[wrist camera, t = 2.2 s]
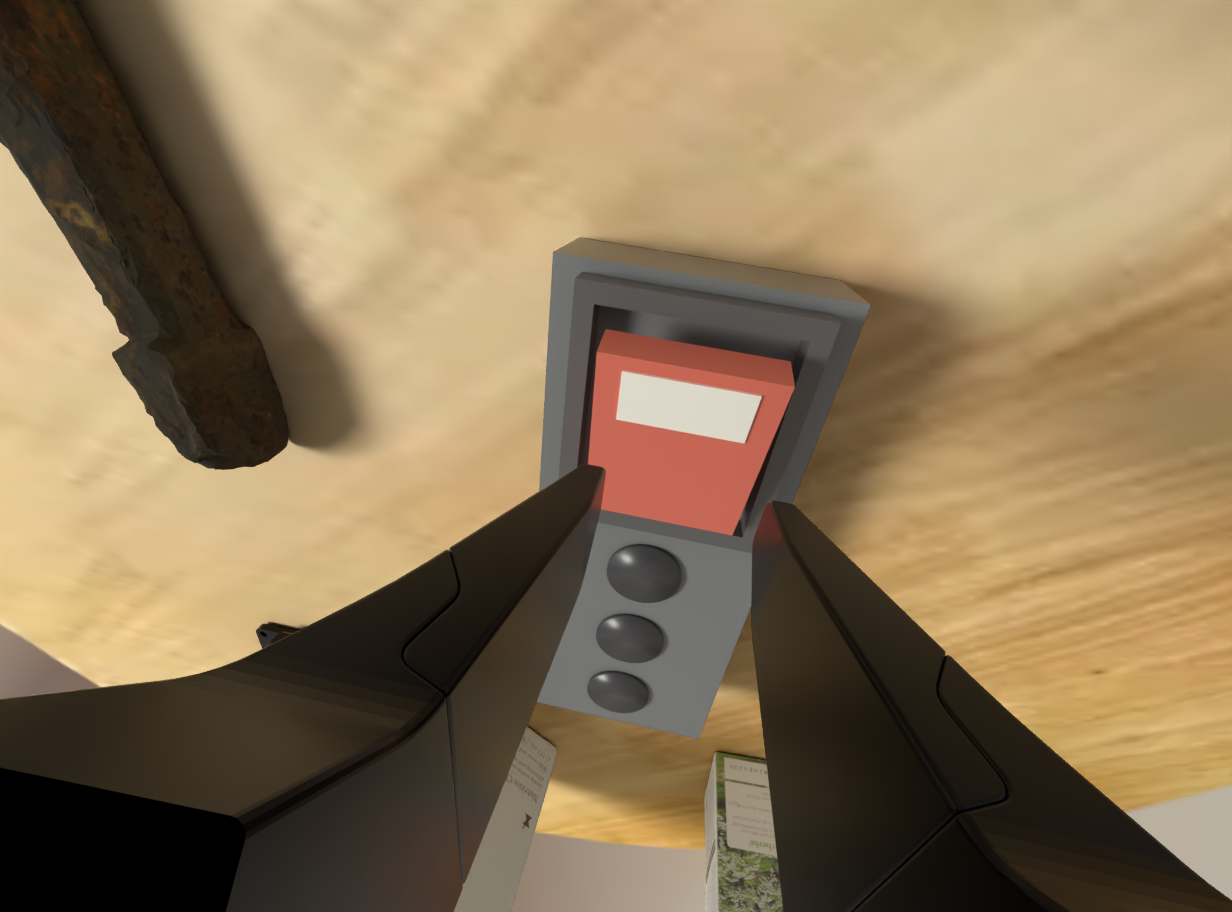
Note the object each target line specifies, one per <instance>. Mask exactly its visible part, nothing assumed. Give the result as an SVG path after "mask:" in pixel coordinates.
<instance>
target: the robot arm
mask: <svg viewBox="0 0 1232 912" xmlns="http://www.w3.org/2000/svg"><path fill="white" fill-rule="evenodd" d="M605 477H606V470H605V468H603V467H600V466H595V465H590V464H582V465H580V466H579V467H577V468H575V469H574V470H572V471H571V472H569V473H567V474H566V475H564V476H563V477H561V478H560V479H558V480H556V481H555V482H553V483H552V484H550V485H548V486H547V487H545V488H544V489H542V490H541V491H539V492H537V493H536V494H534V495H533V496H531V497H529V498H528V499H526V500H525V501H523V502H521V503H520V504H518V505H517V506H515V507H514V508H512V509H510V510H509V511H507V512H506V513H504V514H502V515H501V516H499V517H498V518H496V519H495V520H493V521H491V522H490V523H488V524H487V525H485V526H483V527H482V528H480V529H479V530H477V531H476V532H474V533H472V534H471V535H469V536H468V537H466V538H464V539H463V540H461V541H460V542H458V543H456V544H455V545H453V546H452V547H450V550H445V551H443V552H442V553H440V554H439V555H437V556H436V557H434V558H432V559H431V560H429V561H428V562H426V563H424V564H423V565H421V566H419V567H418V568H416V569H414V570H412V571H411V572H409V573H407V574H406V575H404V576H402V577H401V578H399V579H397V580H396V581H394V582H392V583H390V584H388V585H386V586H384V587H382V588H381V589H379V590H377V591H375V592H373V593H371V594H369V595H367V596H366V597H364V598H362V599H360V600H358V601H356V602H354V603H352V604H350V605H348V606H346V607H344V608H342V609H340V610H338V611H336V612H334V613H332V614H331V615H329V616H327V617H325V618H323V619H321V620H319V621H317V622H315V623H313V624H311V625H309V626H307V627H305V628H303V629H301V630H299V631H295V630H291V629H286V628H282V627H277V626H273V625H268V624H262V625H261V626H260V627H259V628H258V629H257V630H256V633H257V636H258V638H259V641H260V644H261V646H262V650H260V651H257V652H255V653H253V654H251V655H249V656H247V657H245V658H242V659H240V660H238V661H235V662H233V663H230V664H227V665H225V666H222V667H220V668H216V669H213V670H210V671H207V672H203V673H200V674H195V675H191V676H186V677H181V678H176V679H169V680H162V681H153V682H144V683H135V684H126V685H117V686H108V687H99V688H91V689H81V690H73V691H64V692H55V693H47V694H37V695H28V696H19V697H10V698H1V699H0V912H454V910H455V907H456V905H457V902H458V900H459V897H460V895H461V892H462V889H463V884H464V883H465V881H466V879H467V876H468V874H469V871H470V869H471V866H472V864H473V861H474V859H475V856H476V854H477V851H478V849H479V846H480V844H481V841H482V839H483V836H484V833H485V831H486V828H487V826H488V823H489V821H490V818H491V816H492V813H493V811H494V808H495V806H496V803H497V801H498V798H499V796H500V793H501V791H502V788H503V785H504V783H505V780H506V778H507V775H508V773H509V770H510V768H511V765H512V763H513V760H514V758H515V755H516V753H517V750H518V748H519V745H520V742H521V740H522V737H523V735H524V732H525V730H526V727H527V725H528V722H529V720H530V717H531V715H532V712H533V710H534V707H535V705H536V702H537V699H538V697H539V694H540V692H541V689H542V687H543V684H544V682H545V679H546V677H547V674H548V672H549V669H550V667H551V664H552V662H553V659H554V657H555V654H556V651H557V649H558V646H559V644H560V641H561V639H562V636H563V634H564V631H565V629H566V626H567V624H568V621H569V619H570V616H571V614H572V611H573V608H574V606H575V603H576V601H577V598H578V595H579V593H580V590H581V586H582V583H583V579H584V576H585V572H586V568H587V564H588V560H589V556H590V552H591V548H592V544H593V540H594V536H595V532H596V528H597V524H598V520H599V516H600V511H601V505H602V498H603V491H604V484H605ZM751 628H752V640H753V649H754V657H755V666H756V675H757V684H758V693H759V701H760V710H761V719H762V728H763V737H764V746H765V754H766V763H767V772H768V781H769V790H770V799H771V807H772V816H773V825H774V834H775V843H776V851H777V860H778V869H779V878H780V887H781V896H782V904H783V912H1232V900H1230V899H1229V898H1228V897H1226V896H1225V895H1224V894H1222V893H1221V892H1220V891H1218V890H1217V889H1215V888H1214V887H1212V886H1211V885H1210V884H1208V883H1207V882H1206V881H1205V880H1204V879H1202V878H1201V877H1200V876H1199V875H1198V874H1196V873H1195V872H1194V871H1192V870H1191V869H1190V868H1189V867H1188V866H1186V865H1185V864H1184V863H1183V862H1182V861H1181V860H1179V859H1178V858H1177V857H1176V856H1175V855H1174V854H1172V853H1171V852H1170V851H1169V850H1168V849H1167V848H1165V847H1164V846H1163V845H1162V844H1161V843H1160V842H1159V841H1157V840H1156V839H1155V838H1154V837H1153V836H1152V835H1150V834H1149V833H1148V832H1147V831H1146V830H1145V829H1143V828H1142V827H1141V826H1140V825H1139V824H1137V823H1136V822H1135V821H1134V820H1133V819H1132V818H1131V817H1130V816H1128V815H1127V814H1126V813H1125V812H1124V811H1123V810H1121V809H1120V808H1119V807H1118V806H1117V805H1116V804H1114V803H1113V802H1112V801H1111V800H1110V799H1109V798H1107V797H1106V796H1105V795H1104V794H1103V793H1102V792H1101V791H1099V790H1098V789H1097V788H1096V787H1095V786H1094V785H1092V784H1091V783H1090V782H1089V781H1088V780H1087V779H1085V778H1084V777H1083V776H1082V775H1081V774H1080V773H1078V772H1077V771H1076V770H1075V769H1074V768H1073V767H1072V766H1070V765H1069V764H1068V763H1067V762H1066V761H1065V760H1063V759H1062V758H1061V757H1060V756H1059V755H1058V754H1056V753H1055V752H1054V751H1053V750H1052V749H1051V748H1050V747H1048V746H1047V745H1046V744H1045V743H1044V742H1043V741H1042V740H1041V739H1039V738H1038V737H1037V736H1036V735H1035V734H1034V733H1033V732H1031V731H1030V730H1029V729H1028V728H1027V727H1026V726H1025V725H1024V724H1022V723H1021V722H1020V721H1019V720H1018V719H1017V718H1016V717H1014V716H1013V715H1012V714H1011V713H1010V712H1009V711H1008V710H1007V709H1006V708H1005V707H1004V706H1002V705H1001V704H1000V703H999V702H998V701H997V700H996V699H995V698H994V697H993V696H992V695H991V694H990V693H989V692H988V691H986V690H985V689H984V688H983V687H982V686H981V685H980V684H979V683H978V682H977V681H976V680H975V679H974V678H973V677H972V676H970V675H969V674H968V673H967V672H966V671H965V670H964V669H963V668H962V667H961V666H960V665H959V664H958V663H957V662H956V661H955V660H954V659H953V658H952V657H951V656H949V655H946V656H945V651H944V650H943V649H942V648H941V647H940V646H939V645H938V644H937V643H936V642H935V641H934V640H933V639H932V638H931V637H930V636H929V635H928V634H927V633H926V632H925V631H924V630H923V629H922V628H921V627H920V626H919V625H918V624H917V623H916V622H915V621H913V620H912V619H911V618H910V617H909V616H908V615H907V614H906V613H905V612H904V611H903V610H902V609H901V608H900V607H899V606H898V605H897V604H896V603H895V602H894V601H893V600H892V599H891V598H890V597H889V596H888V595H887V594H886V593H885V592H884V591H882V590H881V589H880V588H879V587H878V586H877V585H876V584H875V583H874V582H873V581H872V580H871V579H870V578H869V577H868V576H867V575H866V574H865V573H864V572H863V571H862V570H861V569H860V568H859V567H858V566H857V565H856V564H855V563H854V562H852V561H851V560H850V559H849V558H848V557H847V556H846V555H845V554H844V553H843V552H842V551H841V550H840V549H839V548H838V547H837V546H836V545H835V544H834V543H833V542H832V541H831V540H830V539H829V538H828V537H827V536H826V535H825V534H824V533H823V532H821V531H820V530H819V529H818V528H817V527H816V526H815V525H814V524H813V523H812V522H811V521H810V520H809V519H808V518H807V517H806V516H805V515H804V514H803V513H802V512H801V511H800V510H799V509H798V508H797V507H796V506H794V505H793V504H790V503H785V502H780V501H775V500H771V501H769V502H768V503H767V504H766V506H765V508H764V511H763V514H762V516H761V519H760V522H759V525H758V527H757V530H756V533H755V536H754V539H753V545H752V593H751Z"/></svg>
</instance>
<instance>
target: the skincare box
mask: <svg viewBox="0 0 1232 912" xmlns="http://www.w3.org/2000/svg"><path fill="white" fill-rule="evenodd" d="M556 751H557V749H556V748H555V747H554V746H553V745H552V744H551V743H549V742H548V741H546V740H544V739H543V738H542V737H540V736H539V735H538V734H536V733H535V732H534V731H533V730H531V729H530V728H529V727H526V730H525V732H524V735H523V737H522V740H521V742H520V745H519V748H518V750H517V753H516V755H515V758H514V760H513V763H512V765H511V768H510V770H509V773H508V775H507V778H506V780H505V783H504V785H503V788H502V791H501V793H500V796H499V798H498V801H497V803H496V806H495V808H494V811H493V813H492V816H491V818H490V821H489V823H488V826H487V828H486V831H485V833H484V836H483V839H482V841H481V844H480V846H479V849H478V851H477V854H476V856H475V859H474V861H473V864H472V866H471V869H470V871H469V874H468V876H467V879H466V881H465V883H464V884H463V889H462V892H461V895H460V897H459V900H458V902H457V905H456V907H455V910H454V912H511V910H512V906H513V902H514V899H515V896H516V892H517V889H518V885H519V882H520V879H521V876H522V872H523V869H524V866H525V862H526V859H527V855H528V852H529V848H530V845H531V842H532V838H533V835H534V831H535V828H536V825H537V821H538V818H539V815H540V812H541V808H542V805H543V801H544V798H545V794H546V791H547V788H548V784H549V781H550V777H551V774H552V770H553V767H554V764H555V760H556V756H557V754H556Z"/></svg>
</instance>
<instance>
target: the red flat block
mask: <svg viewBox="0 0 1232 912" xmlns="http://www.w3.org/2000/svg"><path fill="white" fill-rule="evenodd" d="M794 388H795V384H794V378H793V372H792V366H791V361H785V360H779V359H774V358H768V357H762V356H757V355H751V354H745V353H739V352H734V351H728V350H722V349H717V348H711V347H705V346H700V345H694V344H688V343H682V342H677V341H671V340H665V339H660V338H654V337H648V336H643V335H637V334H631V333H625V332H620V331H614V330H608V329H606V330H605V332H604V335H603V337H602V340H601V342H600V345H599V347H598V350H597V355H596V368H595V381H594V394H593V407H592V420H591V433H590V446H589V459H588V464H590V465H595V466H600V467H603V468H605V470H606V477H605V484H604V491H603V498H602V505H601V509H602V510H607V511H612V512H617V513H622V514H627V515H632V516H637V517H642V518H647V519H652V520H657V521H662V522H667V523H672V524H677V525H682V526H687V527H692V528H697V529H702V530H707V531H712V532H717V533H722V534H727V535H733V533H734V530H735V528H736V526H737V523H738V521H739V518H740V516H741V514H742V511H743V509H744V507H745V504H746V502H747V500H748V497H749V495H750V492H751V490H752V488H753V485H754V483H755V481H756V478H757V476H758V473H759V471H760V469H761V466H762V464H763V462H764V459H765V457H766V454H767V452H768V450H769V447H770V445H771V443H772V440H773V438H774V436H775V433H776V431H777V428H778V426H779V424H780V421H781V419H782V417H783V414H784V412H785V409H786V407H787V405H788V402H789V400H790V398H791V395H792V393H793V391H794Z"/></svg>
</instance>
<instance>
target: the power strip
mask: <svg viewBox="0 0 1232 912" xmlns="http://www.w3.org/2000/svg"><path fill="white" fill-rule="evenodd" d="M870 306H871V304H869V303H868V302H867V301H866V300H864V299H863V298H862V297H861V296H860V295H858V294H857V293H856V292H855V291H853V290H852V289H851V288H850V287H848V286H847V285H846V284H845V283H843V282H842V281H841V280H836V279H830V278H824V277H818V276H812V275H806V274H799V273H793V272H787V271H781V270H775V269H769V268H763V267H757V266H751V265H744V264H738V263H732V262H726V261H720V260H714V259H708V258H702V257H696V256H689V255H683V254H677V253H671V252H665V251H659V250H653V249H647V248H641V247H634V246H628V245H622V244H616V243H610V242H604V241H598V240H592V239H586V238H578V239H576V240H574V241H572V242H570V243H569V244H567V245H565V246H563V247H561V248H559V249H558V250H556V251H554V252H553V264H552V281H551V298H550V315H549V333H548V350H547V367H546V385H545V402H544V419H543V437H542V454H541V471H540V489H539V491H541V490H542V489H544V488H545V487H547V486H548V485H550V484H552V483H553V482H555V481H556V480H558V479H560V478H561V477H563V476H564V475H566V474H567V473H569V472H571V471H572V470H574V469H575V468H577V467H579V466H580V465H582V464H588V459H589V446H590V433H591V420H592V407H593V394H594V381H595V368H596V355H597V350H598V347H599V345H600V342H601V340H602V337H603V335H604V332H605V330H606V329H608V330H614V331H620V332H625V333H631V334H637V335H643V336H648V337H654V338H660V339H665V340H671V341H677V342H682V343H688V344H694V345H700V346H705V347H711V348H717V349H722V350H728V351H734V352H739V353H745V354H751V355H757V356H762V357H768V358H774V359H779V360H785V361H791V366H792V372H793V378H794V384H795V388H794V391H793V393H792V395H791V398H790V400H789V402H788V405H787V407H786V409H785V412H784V414H783V417H782V419H781V421H780V424H779V426H778V428H777V431H776V433H775V436H774V438H773V440H772V443H771V445H770V447H769V450H768V452H767V454H766V457H765V459H764V462H763V464H762V466H761V469H760V471H759V473H758V476H757V478H756V481H755V483H754V485H753V488H752V490H751V492H750V495H749V497H748V500H747V502H746V504H745V507H744V509H743V511H742V514H741V516H740V518H739V521H738V523H737V526H736V528H735V530H734V533H733V535H727V534H722V533H717V532H712V531H707V530H702V529H697V528H692V527H687V526H682V525H677V524H672V523H667V522H662V521H657V520H652V519H647V518H642V517H637V516H632V515H627V514H622V513H617V512H612V511H607V510H602V509H601V511H600V516H599V520H598V524H597V528H596V532H595V536H594V540H593V544H592V548H591V552H590V556H589V560H588V564H587V568H586V572H585V576H584V579H583V583H582V586H581V590H580V593H579V595H578V598H577V601H576V603H575V606H574V608H573V611H572V614H571V616H570V619H569V621H568V624H567V626H566V629H565V631H564V634H563V636H562V639H561V641H560V644H559V646H558V649H557V651H556V654H555V657H554V659H553V662H552V664H551V667H550V669H549V672H548V674H547V677H546V679H545V682H544V684H543V687H542V689H541V692H540V694H539V697H538V699H537V702H538V703H542V704H546V705H551V706H555V707H560V708H564V709H568V710H573V711H577V712H582V713H586V714H590V715H595V716H599V717H603V718H608V719H612V720H617V721H621V722H625V723H630V724H634V725H639V726H643V727H647V728H652V729H656V730H661V731H665V732H669V733H674V734H678V735H683V736H687V737H691V738H696V739H699V736H700V733H701V731H702V728H703V726H704V723H705V721H706V718H707V716H708V713H709V711H710V708H711V706H712V703H713V701H714V698H715V696H716V693H717V691H718V688H719V686H720V683H721V681H722V678H723V676H724V673H725V671H726V668H727V666H728V663H729V661H730V658H731V656H732V653H733V651H734V648H735V646H736V643H737V641H738V638H739V635H740V633H741V630H742V628H743V625H744V623H745V620H746V618H747V615H748V613H749V610H750V608H751V593H752V545H753V539H754V536H755V533H756V530H757V527H758V525H759V522H760V519H761V516H762V514H763V511H764V508H765V506H766V504H767V503H768V502H769V501H771V500H775V501H780V502H785V503H790V504H792V502H793V500H794V497H795V495H796V492H797V490H798V487H799V485H800V482H801V480H802V477H803V475H804V472H805V470H806V467H807V465H808V462H809V460H810V457H811V455H812V452H813V450H814V447H815V445H816V442H817V439H818V437H819V434H820V432H821V429H822V427H823V424H824V422H825V419H826V417H827V414H828V412H829V409H830V407H831V404H832V402H833V399H834V397H835V394H836V392H837V389H838V387H839V384H840V382H841V379H842V377H843V374H844V372H845V369H846V367H847V364H848V362H849V359H850V357H851V354H852V352H853V349H854V347H855V344H856V341H857V339H858V336H859V334H860V331H861V329H862V326H863V324H864V321H865V319H866V316H867V314H868V311H869V309H870Z"/></svg>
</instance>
